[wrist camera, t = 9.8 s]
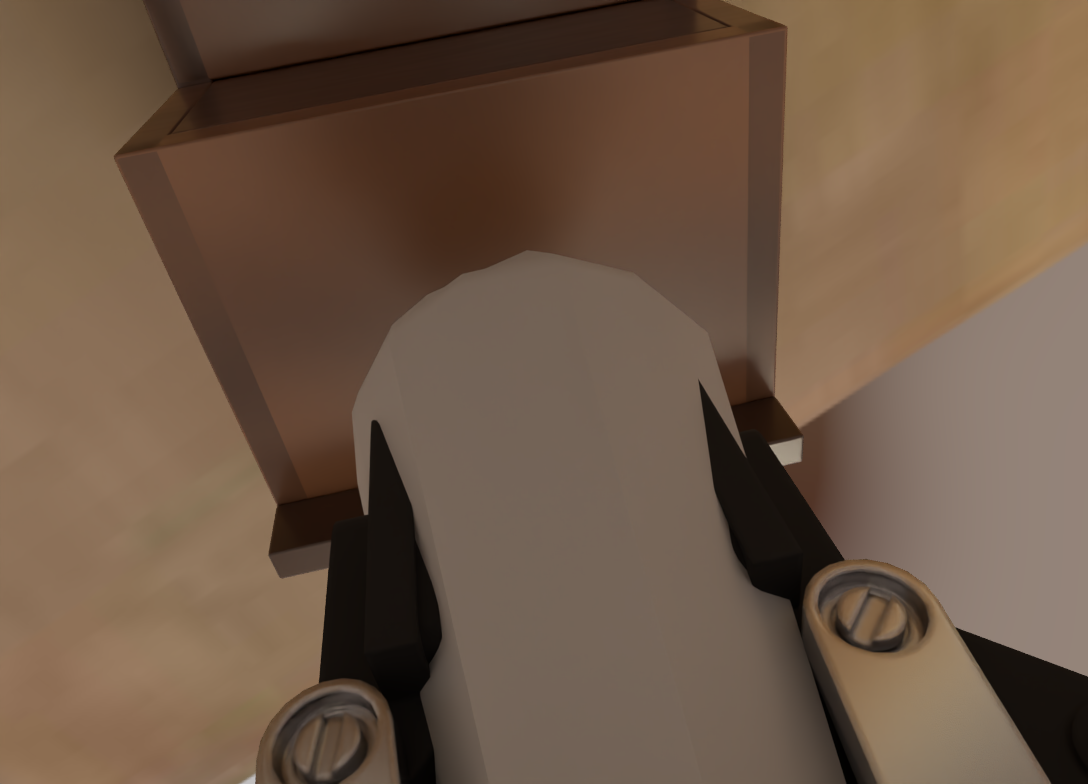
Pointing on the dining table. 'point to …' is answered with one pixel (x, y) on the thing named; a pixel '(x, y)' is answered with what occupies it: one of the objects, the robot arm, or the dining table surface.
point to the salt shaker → (583, 540)
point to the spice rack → (449, 193)
